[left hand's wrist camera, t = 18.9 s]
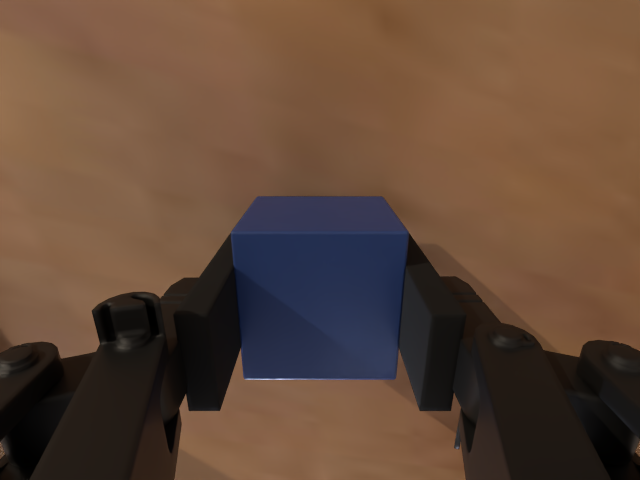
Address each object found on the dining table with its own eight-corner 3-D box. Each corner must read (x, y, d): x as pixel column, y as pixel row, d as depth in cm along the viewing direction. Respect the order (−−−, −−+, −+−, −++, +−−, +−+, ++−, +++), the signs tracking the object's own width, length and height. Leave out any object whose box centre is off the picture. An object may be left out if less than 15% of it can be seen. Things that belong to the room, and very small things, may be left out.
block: (383, 195, 14) (410, 231, 10) (376, 309, 15) (396, 381, 11) (256, 196, 14) (229, 231, 10) (263, 309, 15) (243, 381, 11)
